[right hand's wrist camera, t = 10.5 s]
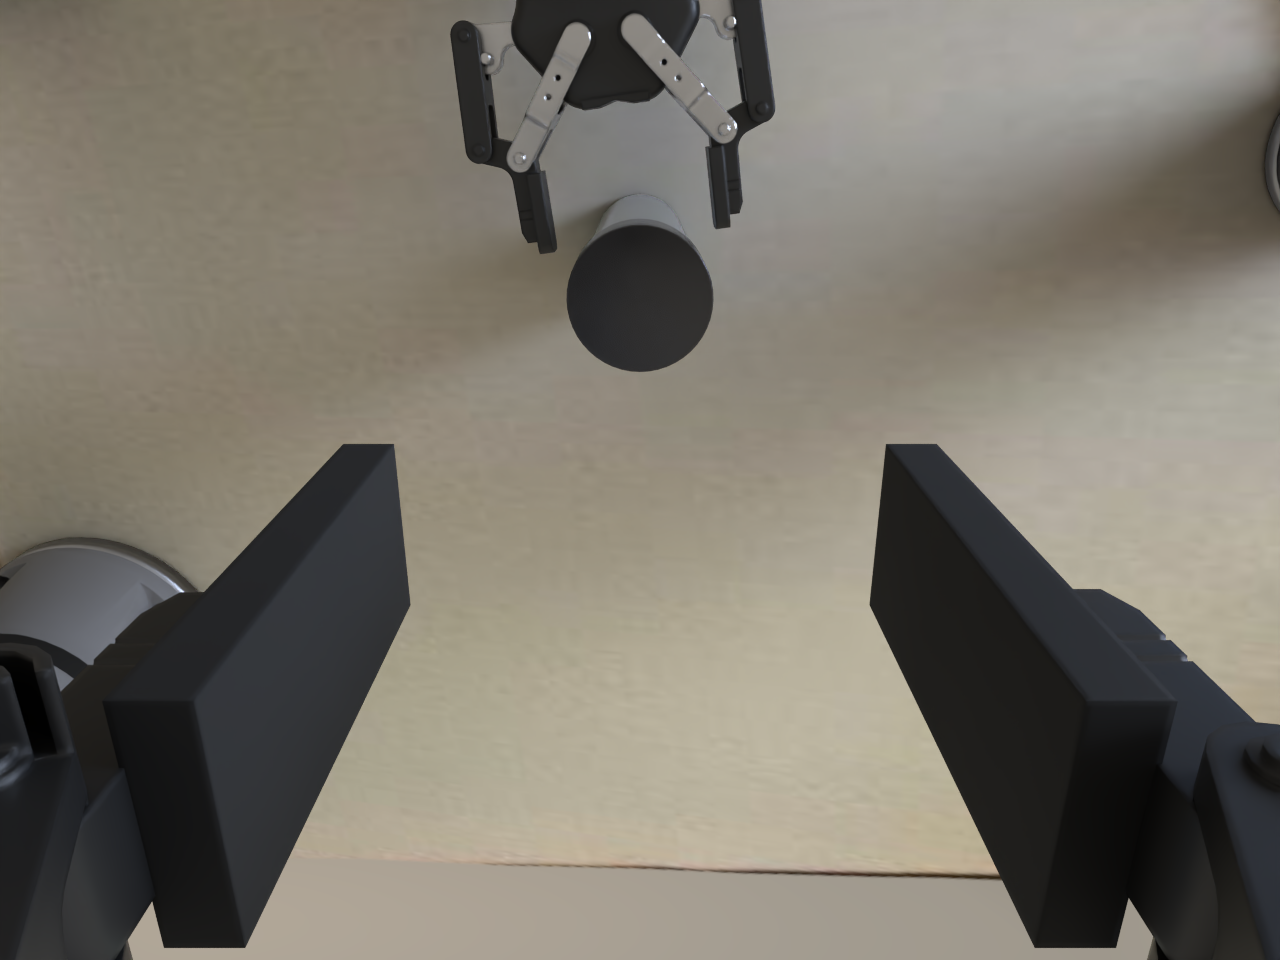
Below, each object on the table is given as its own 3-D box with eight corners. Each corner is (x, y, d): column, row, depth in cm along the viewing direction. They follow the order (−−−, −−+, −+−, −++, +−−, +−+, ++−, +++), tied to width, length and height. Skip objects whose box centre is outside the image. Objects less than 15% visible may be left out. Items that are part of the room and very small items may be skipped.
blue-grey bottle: (662, 295, 52) (674, 382, 34) (584, 262, 51) (554, 333, 33) (696, 214, 50) (727, 261, 32) (616, 179, 49) (602, 208, 32)
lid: (675, 377, 36) (678, 393, 34) (551, 326, 35) (545, 339, 33) (731, 251, 34) (737, 260, 32) (601, 195, 33) (598, 200, 31)
